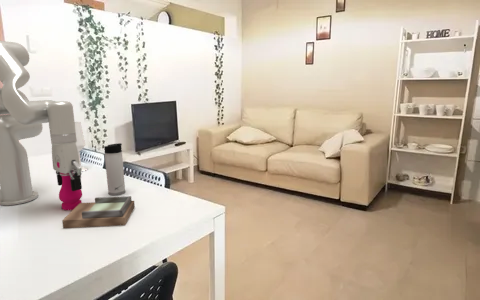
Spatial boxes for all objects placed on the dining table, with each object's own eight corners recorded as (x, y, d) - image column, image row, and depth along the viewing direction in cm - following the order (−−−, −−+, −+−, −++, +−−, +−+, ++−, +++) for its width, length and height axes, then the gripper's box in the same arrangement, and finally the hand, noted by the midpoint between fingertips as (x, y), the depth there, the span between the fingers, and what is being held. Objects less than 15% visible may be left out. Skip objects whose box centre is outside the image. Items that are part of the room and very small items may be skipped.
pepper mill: (60, 212, 106) (52, 154, 102) (60, 205, 112) (53, 150, 108) (83, 208, 109) (77, 152, 105) (83, 201, 116) (77, 148, 111)
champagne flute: (71, 170, 158) (66, 122, 152) (86, 167, 161) (81, 121, 156) (74, 173, 152) (68, 123, 147) (89, 170, 156) (84, 122, 151)
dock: (63, 228, 95) (61, 214, 94) (80, 209, 108) (79, 197, 107) (125, 225, 97) (123, 211, 96) (134, 207, 110) (133, 195, 109)
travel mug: (120, 196, 121) (116, 145, 117) (105, 195, 123) (100, 144, 118) (129, 190, 127) (125, 142, 123) (114, 189, 128) (110, 141, 124)
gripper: (40, 137, 108) (47, 185, 111) (64, 143, 98) (70, 195, 101) (63, 134, 114) (68, 180, 117) (88, 139, 104) (93, 189, 107)
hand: (69, 187), depth 109 cm, fingers open, 9 cm apart
